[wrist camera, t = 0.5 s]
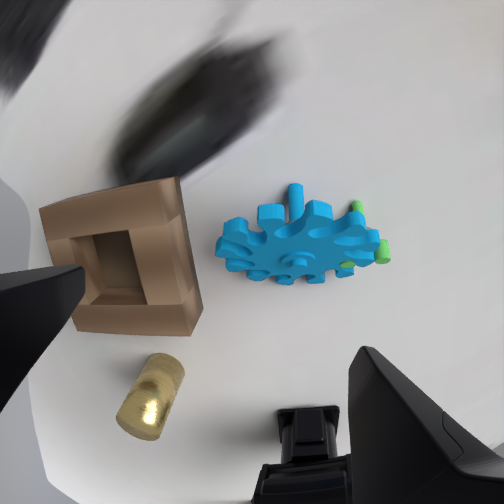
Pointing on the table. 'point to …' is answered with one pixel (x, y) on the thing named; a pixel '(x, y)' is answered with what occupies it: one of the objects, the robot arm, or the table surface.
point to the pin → (151, 397)
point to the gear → (301, 242)
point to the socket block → (128, 258)
